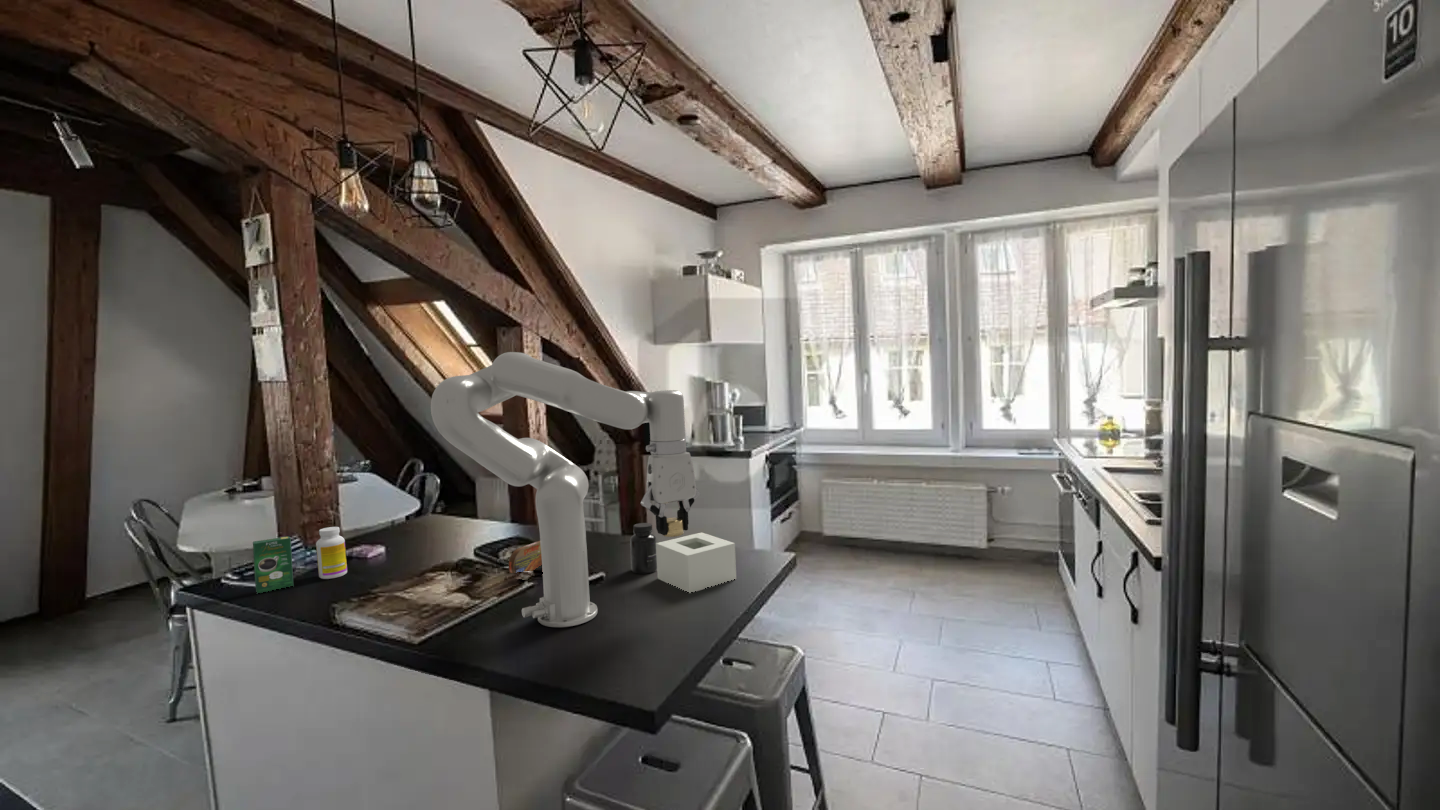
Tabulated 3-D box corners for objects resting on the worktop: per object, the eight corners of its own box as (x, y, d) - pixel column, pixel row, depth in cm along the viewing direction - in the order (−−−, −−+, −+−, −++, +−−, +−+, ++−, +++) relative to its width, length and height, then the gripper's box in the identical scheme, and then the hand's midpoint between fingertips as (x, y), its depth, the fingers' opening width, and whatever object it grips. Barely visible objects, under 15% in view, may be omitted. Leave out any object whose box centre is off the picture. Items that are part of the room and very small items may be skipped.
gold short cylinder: (669, 538, 137) (668, 524, 136) (658, 533, 140) (657, 520, 140) (687, 533, 139) (687, 520, 139) (676, 529, 143) (675, 516, 143)
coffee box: (293, 584, 169) (289, 534, 168) (295, 586, 166) (290, 536, 165) (255, 592, 164) (251, 541, 163) (256, 595, 161) (251, 543, 160)
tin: (515, 585, 161) (513, 552, 160) (507, 583, 162) (505, 550, 162) (560, 567, 173) (558, 536, 173) (552, 566, 175) (550, 535, 175)
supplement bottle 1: (352, 573, 175) (348, 527, 174) (326, 581, 170) (322, 533, 169) (339, 570, 179) (335, 524, 178) (314, 577, 173) (309, 530, 172)
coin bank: (689, 593, 150) (687, 555, 150) (657, 578, 161) (655, 543, 161) (736, 579, 159) (734, 543, 158) (703, 566, 170) (701, 532, 169)
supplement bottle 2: (656, 574, 165) (653, 528, 164) (629, 575, 165) (627, 528, 164) (659, 565, 172) (657, 521, 171) (633, 566, 172) (631, 522, 171)
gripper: (642, 454, 131) (647, 543, 132) (710, 444, 140) (714, 527, 142) (625, 451, 137) (629, 535, 138) (691, 442, 146) (695, 521, 148)
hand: (672, 530), depth 140 cm, fingers closed on gold short cylinder, 4 cm apart
